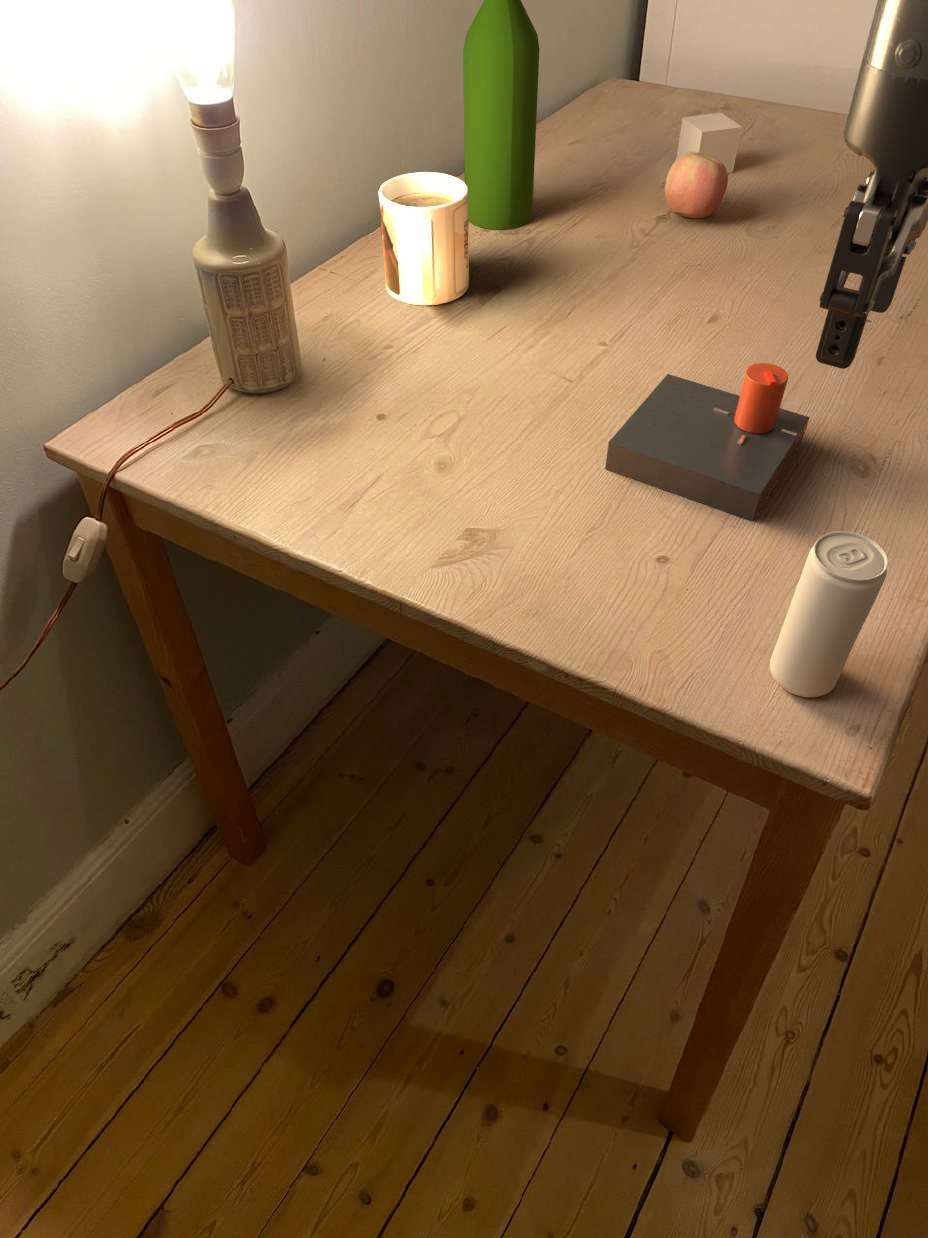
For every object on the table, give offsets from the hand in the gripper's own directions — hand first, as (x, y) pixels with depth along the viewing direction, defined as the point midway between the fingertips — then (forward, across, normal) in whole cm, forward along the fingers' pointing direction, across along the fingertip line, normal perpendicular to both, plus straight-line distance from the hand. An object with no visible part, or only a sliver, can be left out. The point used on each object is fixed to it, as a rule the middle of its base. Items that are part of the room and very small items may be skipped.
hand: (852, 334), depth 60 cm
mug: (+19, +22, +51) cm, 59 cm away
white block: (+19, +74, +38) cm, 85 cm away
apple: (+19, +57, +32) cm, 68 cm away
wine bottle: (+19, +44, +54) cm, 73 cm away
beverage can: (+21, -11, -5) cm, 24 cm away
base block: (+20, +10, +11) cm, 25 cm away
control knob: (+17, +13, +8) cm, 23 cm away
